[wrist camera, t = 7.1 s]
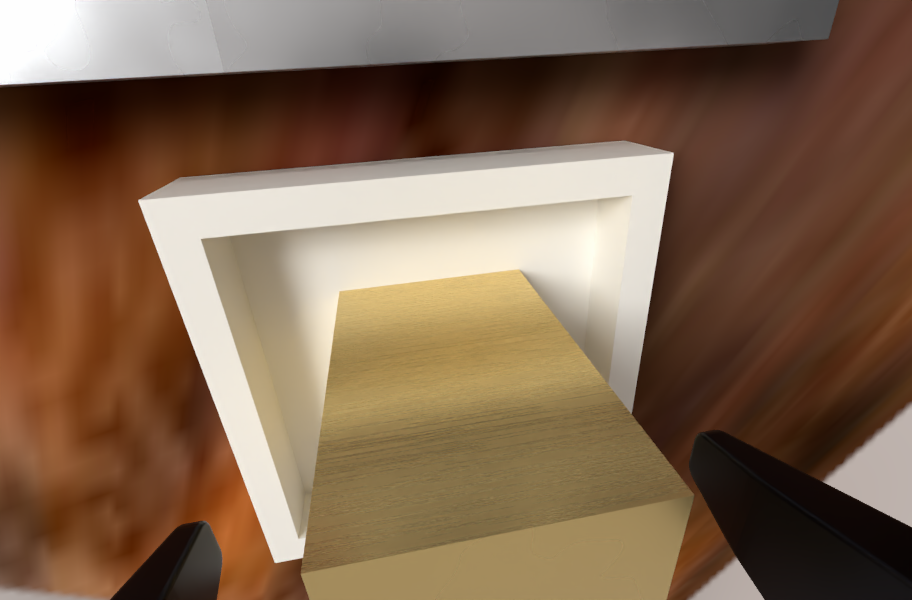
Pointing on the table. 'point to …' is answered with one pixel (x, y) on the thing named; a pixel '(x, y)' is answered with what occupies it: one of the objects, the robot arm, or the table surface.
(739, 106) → the table surface
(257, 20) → the grey flat plate
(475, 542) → the wood grain block
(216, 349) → the tray
